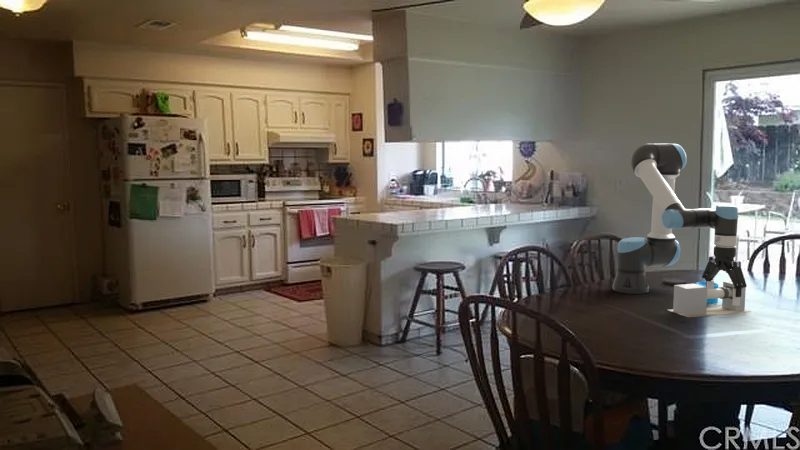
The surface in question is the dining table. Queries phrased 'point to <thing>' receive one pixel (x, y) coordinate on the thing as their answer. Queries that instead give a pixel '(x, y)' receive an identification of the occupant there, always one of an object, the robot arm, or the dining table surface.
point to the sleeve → (690, 299)
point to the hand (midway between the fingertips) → (722, 301)
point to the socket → (728, 301)
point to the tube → (720, 293)
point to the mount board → (714, 311)
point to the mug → (714, 288)
